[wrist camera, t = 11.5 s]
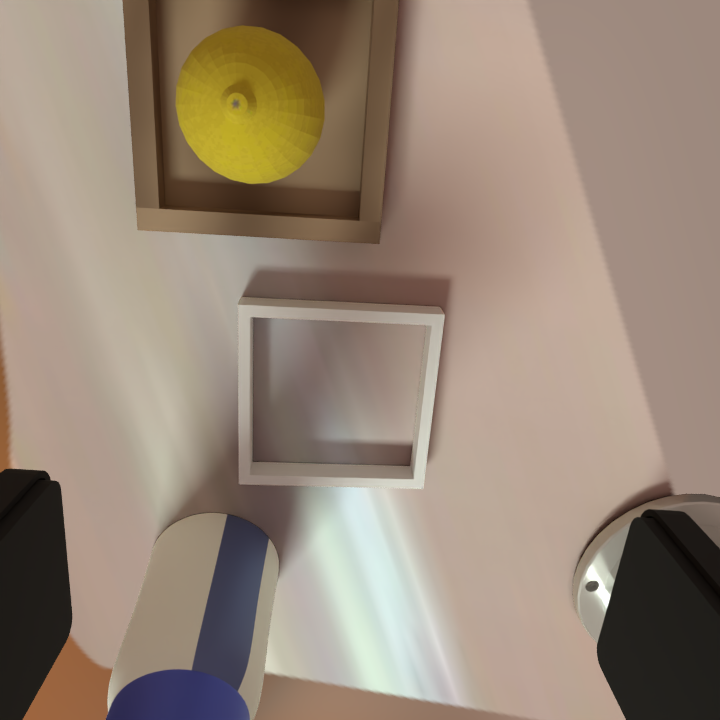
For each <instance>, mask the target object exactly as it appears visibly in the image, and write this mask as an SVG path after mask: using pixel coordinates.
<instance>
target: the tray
mask: <svg viewBox="0 0 720 720" xmlns="http://www.w3.org/2000/svg"><path fill="white" fill-rule="evenodd" d="M398 5H399V0H123V13H124V28H125V44H126V59H127V74H128V90H129V105H130V120H131V136H132V151H133V166H134V182H135V197H136V212H137V227H138V230H145V231H163V232H180V233H198V234H215V235H233V236H250V237H267V238H285V239H302V240H320V241H337V242H355V243H372V244H379V243H380V230H381V218H382V205H383V193H384V180H385V168H386V155H387V143H388V130H389V118H390V105H391V93H392V80H393V68H394V55H395V43H396V30H397V18H398ZM241 25H244V26H254V27H262V28H265V29H267V30H270V31H273V32H275V33H278V34H281V35H282V36H283V37H285V38H286V39H288V40H289V41H290V42H292V43H293V44H294V45H296V46H297V47H298V48H299V49H300V50H301V52H302V53H303V54H304V55H305V56H306V58H307V59H308V60H309V61H310V62H311V64H312V66H313V68H314V70H315V72H316V74H317V76H318V78H319V80H320V83H321V87H322V91H323V96H324V100H325V120H324V124H323V129H322V133H321V137H320V140H319V142H318V144H317V146H316V147H315V149H314V151H313V153H312V155H311V156H310V157H309V158H308V159H307V160H306V162H305V163H304V164H303V165H302V166H301V167H300V168H299V169H297V170H296V171H294V172H293V173H291V174H290V175H288V176H287V177H285V178H282V179H279V180H276V181H273V182H270V183H257V184H248V183H244V182H239V181H234V180H231V179H229V178H227V177H225V176H223V175H221V174H218V173H216V172H214V171H213V170H212V169H211V168H210V167H208V166H207V165H206V164H205V163H204V162H202V161H201V160H200V159H199V158H198V156H197V155H196V154H195V152H194V151H193V150H192V148H191V147H190V146H189V144H188V143H187V141H186V139H185V137H184V134H183V132H182V130H181V128H180V126H179V121H178V116H177V111H176V85H177V82H178V78H179V75H180V71H181V68H182V66H183V64H184V63H185V61H186V59H187V58H188V56H189V54H190V53H191V51H192V50H193V49H194V48H195V47H196V46H197V45H198V44H199V43H200V42H201V41H202V40H204V39H205V38H206V37H208V36H210V35H212V34H214V33H216V32H218V31H219V30H221V29H225V28H230V27H235V26H241Z"/></svg>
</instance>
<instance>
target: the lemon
mask: <svg viewBox="0 0 720 720" xmlns="http://www.w3.org/2000/svg"><path fill="white" fill-rule="evenodd" d="M176 111H177V116H178V121H179V126H180V128H181V130H182V132H183V134H184V137H185V139H186V141H187V143H188V144H189V146H190V147H191V148H192V150H193V151H194V152H195V154H196V155H197V156H198V158H199V159H200V160H201V161H202V162H204V163H205V164H206V165H207V166H208V167H210V168H211V169H212V170H213V171H214V172H216V173H218V174H221V175H223V176H225V177H227V178H229V179H231V180H234V181H239V182H244V183H248V184H257V183H270V182H273V181H276V180H279V179H282V178H285V177H287V176H288V175H290V174H291V173H293V172H294V171H296V170H297V169H299V168H300V167H301V166H302V165H303V164H304V163H305V162H306V160H307V159H308V158H309V157H310V156H311V155H312V153H313V151H314V149H315V147H316V146H317V144H318V142H319V140H320V137H321V133H322V129H323V124H324V120H325V100H324V96H323V91H322V87H321V83H320V80H319V78H318V76H317V74H316V72H315V70H314V68H313V66H312V64H311V62H310V61H309V60H308V59H307V58H306V56H305V55H304V54H303V53H302V52H301V50H300V49H299V48H298V47H297V46H296V45H294V44H293V43H292V42H290V41H289V40H288V39H286V38H285V37H283V36H282V35H281V34H278V33H275V32H273V31H270V30H267V29H265V28H262V27H254V26H244V25H241V26H235V27H230V28H225V29H221V30H219V31H218V32H216V33H214V34H212V35H210V36H208V37H206V38H205V39H204V40H202V41H201V42H200V43H199V44H198V45H197V46H196V47H195V48H194V49H193V50H192V51H191V53H190V54H189V56H188V58H187V59H186V61H185V63H184V64H183V66H182V68H181V71H180V75H179V78H178V82H177V85H176Z"/></svg>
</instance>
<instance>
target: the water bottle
mask: <svg viewBox="0 0 720 720" xmlns="http://www.w3.org/2000/svg"><path fill="white" fill-rule="evenodd" d="M278 573H279V559H278V554H277V551H276V549H275V547H274V545H273V543H272V542H271V540H270V539H269V537H268V536H267V535H266V534H265V533H264V532H263V531H262V530H261V529H259V528H258V527H257V526H255V525H254V524H252V523H250V522H249V521H246V520H244V519H242V518H239V517H236V516H233V515H228V514H222V513H203V514H197V515H193V516H189V517H186V518H184V519H181V520H179V521H177V522H175V523H174V524H172V525H171V526H169V527H168V528H167V529H166V530H165V531H164V532H163V533H162V534H161V535H160V536H159V538H158V539H157V541H156V542H155V544H154V547H153V549H152V553H151V556H150V559H149V563H148V566H147V570H146V573H145V576H144V580H143V583H142V586H141V589H140V593H139V596H138V599H137V602H136V605H135V608H134V611H133V614H132V617H131V620H130V622H129V625H128V628H127V631H126V633H125V636H124V639H123V642H122V644H121V647H120V650H119V653H118V656H117V659H116V662H115V665H114V668H113V672H112V675H111V679H110V683H109V691H108V715H107V718H106V720H254V717H255V714H256V711H257V709H258V705H259V701H260V696H261V691H262V685H263V678H264V670H265V662H266V653H267V644H268V636H269V629H270V621H271V615H272V609H273V602H274V596H275V590H276V585H277V579H278Z"/></svg>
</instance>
